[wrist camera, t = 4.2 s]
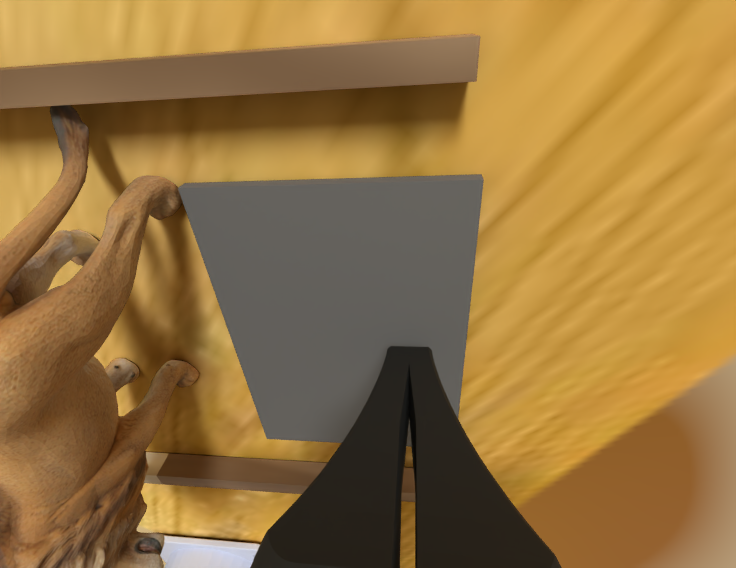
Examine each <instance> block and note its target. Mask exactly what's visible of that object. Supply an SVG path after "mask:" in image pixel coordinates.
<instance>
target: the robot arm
mask: <svg viewBox="0 0 736 568" xmlns="http://www.w3.org/2000/svg"><path fill="white" fill-rule="evenodd" d="M409 420H410V432H411V444H412V457H413V469H414V481H415V568H561V566H560V564H559V562H558V560H557V558H556V556H555V555H554V553H553V552H552V551H551V550H550V549H549V547H548V546H547V545H546V544H545V543H544V542H543V541H542V539H541V538H540V537H539V536H538V535H537V534H536V532H535V531H534V530H533V529H532V528H531V526H530V525H529V524H528V523H527V521H526V520H525V519H524V518H523V516H522V515H521V514H520V513H519V511H518V510H517V509H516V507H515V506H514V505H513V504H512V502H511V501H510V500H509V498H508V497H507V496H506V494H505V493H504V491H503V490H502V489H501V487H500V486H499V484H498V483H497V482H496V480H495V479H494V478H493V476H492V475H491V473H490V472H489V470H488V469H487V467H486V466H485V464H484V463H483V461H482V460H481V458H480V457H479V455H478V453H477V452H476V450H475V449H474V447H473V445H472V444H471V442H470V440H469V438H468V437H467V435H466V433H465V431H464V430H463V428H462V426H461V424H460V422H459V420H458V418H457V416H456V414H455V412H454V410H453V408H452V406H451V404H450V402H449V399H448V397H447V395H446V393H445V390H444V388H443V386H442V383H441V381H440V378H439V375H438V372H437V369H436V366H435V363H434V359H433V354H432V350H431V349H430V348H429V347H410V346H390V347H389V348H388V349H387V354H386V357H385V361H384V364H383V366H382V369H381V372H380V374H379V376H378V379H377V381H376V383H375V385H374V388H373V390H372V392H371V394H370V396H369V398H368V400H367V402H366V404H365V406H364V407H363V409H362V411H361V413H360V415H359V416H358V418H357V420H356V422H355V423H354V425H353V427H352V428H351V430H350V431H349V433H348V435H347V436H346V438H345V439H344V441H343V442H342V444H341V445H340V447H339V448H338V449H337V451H336V452H335V454H334V455H333V456H332V458H331V459H330V460H329V462H328V463H327V464H326V466H325V467H324V468H323V470H322V471H321V472H320V473H319V475H318V476H317V477H316V478H315V479H314V481H313V482H312V483H311V484H310V485H309V487H308V488H307V489H306V490H305V491H304V492H303V494H302V495H301V496H300V497H299V498H298V499H297V501H296V502H295V503H294V504H293V505H292V506H291V507H290V508H289V509H288V510H287V511H286V512H285V513H284V514H283V515H282V516H281V517H280V518H279V519H278V520H277V521H276V523H275V524H274V525H273V526H272V527H271V528H270V529H269V530H268V531H267V533H266V534H265V536H264V538H263V540H262V542H261V544H256V543H245V542H233V541H222V540H210V539H199V538H188V537H176V536H165V535H164V537H165V540H164V546H163V549H162V552H161V555H160V556H161V558H162V559H163V560H164V561H165V563H166V565H165V568H400V534H401V496H402V483H403V473H404V464H405V455H406V445H407V436H408V427H409Z"/></svg>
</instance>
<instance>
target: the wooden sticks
mask: <svg viewBox="0 0 736 568" xmlns="http://www.w3.org/2000/svg"><path fill="white" fill-rule="evenodd" d="M479 45H480V36H478V35H475V34H464V35H450V36H436V37H422V38H409V39H395V40H381V41H367V42H353V43H339V44H325V45H311V46H298V47H284V48H270V49H256V50H242V51H228V52H214V53H200V54H186V55H173V56H159V57H145V58H131V59H117V60H103V61H89V62H75V63H62V64H48V65H34V66H20V67H6V68H0V109H7V108H24V107H41V106H59V105H76V104H93V103H111V102H128V101H146V100H163V99H180V98H198V97H215V96H232V95H250V94H267V93H284V92H302V91H319V90H336V89H354V88H371V87H389V86H406V85H423V84H441V83H458V82H475V81H477V69H478V57H479ZM146 458H147V463H148V466H149V468H148V471H147V473H146V476H145V481H144V483H152V484H166V485H180V486H195V487H209V488H223V489H237V490H251V491H265V492H280V493H294V494H303V492H304V491H305V490H306V489H307V488H308V487H309V485H310V484H311V483H312V482H313V481H314V479H315V478H316V477H317V476H318V475H319V473H320V472H321V471H322V470H323V468H324V467H325V466H326V464H327V463H320V462H304V461H287V460H271V459H254V458H237V457H221V456H204V455H188V454H171V453H154V452H146ZM401 501H407V502H415V481H414V469H413V468H404V473H403V483H402V496H401Z"/></svg>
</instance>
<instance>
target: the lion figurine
mask: <svg viewBox="0 0 736 568" xmlns="http://www.w3.org/2000/svg"><path fill="white" fill-rule="evenodd" d="M50 113H51V117H52V122H53V125H54V129H55V131H56V134H57V136H58V143H59V147H60V149H61V152H62V156H63V163H64V164H63V170H62V172H61V175H60V177H59V180H58V182H57V183H56V184H55V185H54V187H53V188H52V189H51V190H50V192H49V193H48V194H47V195H46V196H45V197H44V198H43V199H42V200H41V201H40V203H39V204H38V205H37V206H36V207H35V208H34V209H33V210H32V211H31V212H30V213H29V214H28V216H27V217H26V218H24V219H23V220H22V221H21V222H20V223H19V224H17V225H16V226H15V227H14V228H13V230H12V231H11V232H10V233H9V234H8V235H7V236H6V237H5V238H4V239H2V240H1V241H0V568H163V567H164V565H163V561H162V558H161V556H160V555H161V552H162V549H163V546H164V540H165V537H164V535H163V534H162V533H140V532H137V531H136V529H137V527H138V525H139V523H140V521H141V519H142V517H143V516H144V514H145V512H146V509H147V504H146V503H145V502H144V500H143V497H142V494H141V490H142V487H143V484H144V481H145V476H146V473H147V471H148V468H149V466H148V463H147V458H146V451H145V450H146V449H147V447H148V446H149V444H150V443H151V441H152V439H153V437H154V436H155V434H156V432H157V430H158V428H159V426H160V424H161V422H162V420H163V418H164V415H165V412H166V409H167V405H168V402H169V399H170V397H171V395H172V393H173V390H174V388H175V386H176V385H178V386H179V387H185V386H190V385H192V384H193V383H194V382H195V380H196V379H197V378H198V377H199V372H198V371H197V370H196V369H195V368H194V367H193V366H192V365H190V364H189V363H187V362H185V361H178V360H170V361H168V362H166V363H165V364H164V365H163V366H162V367H161V368H160V369H159V371H158V372H157V373H156V375H155V377H154V378H153V380H152V382H151V385H150V388H149V391H148V392H147V394H146V395H145V397H144V398H143V400H142V401H141V403H140V404H139V405H138V406H137V407H136V408H135V409H133V410H132V411H130V412H129V413H127V414H126V415H125V416H121V417H120V416H118V404H117V398H116V392H117V391H118V390H119V389H120V388H121V387H123V386H124V385H126V384H127V383H132V382H134V381H135V380H136V379H137V378H138V376H139V369H138V367H137V366H136V365H135V364H134V363H132V362H130V361H129V360H127V359H124V358H118V359H115V360H112V361H111V362H110V364H109V365H108V366H107V367H106V368H105V369H104V367H103V365H102V364H101V363H100V362H99V361H98V359H96V358H95V357H94V354H95V353H96V352H97V351H98V350H99V349H100V347H101V346H102V344H103V343H104V341H105V340H106V338H107V337H108V335H109V334H110V332H111V330H112V328H113V326H114V324H115V322H116V321H117V319H118V317H119V315H120V314H121V312H122V310H123V308H124V305H125V303H126V301H127V299H128V297H129V295H130V293H131V290H132V287H133V283H134V279H135V275H136V270H137V264H138V260H139V255H140V250H141V244H142V239H143V235H144V231H145V227H146V224H147V221H148V218H149V214H150V215H151V216H152V217H154V218H156V219H159V220H161V219H163V218H165V217H167V216H171V215H173V214H174V213H175V212H176V211H177V210H178V209H179V208H180V206H181V204H182V199H181V196H180V193H179V190H178V188H177V187H176V185H175V184H174V183H172V182H170V181H169V180H167V179H165V178H162V177H158V176H142V177H138V178H136V179H135V180H134V181H133V182H132V183H131V184H130V185H129V186H128V187H127V188H126V189H125V190H124V191H123V193H122V194H121V195H120V196H119V197H118V198H117V200H116V201H115V202H114V203H113V204H112V206H111V207H110V209H109V210H108V213H107V218H106V226H105V229H104V232H103V236H102V238H101V239H100V241H98V240H97V239H96V238H94V237H93V236H92V235H91V234H89V233H87V232H85V231H81V230H72V231H58V232H56V233H54V234H53V235H52V236H51V237H50V235H51V234H52V233H53V232H54V230H55V229H56V227H57V226H58V225H59V223H60V222H61V221H62V219H63V218H64V216H65V215H66V214H67V212H68V210H69V209H70V207H71V206H72V204H73V203H74V201H75V199H76V198H77V196H78V194H79V192H80V190H81V188H82V186H83V184H84V182H85V179H86V173H87V168H88V165H87V161H88V154H89V129H88V127H87V126H86V125H85V124H84V123H83V122H82V120H81V118H80V117H79V115H78V113H77V111H76V110H75V109H74V108H72V107H71V106H70V105H59V106H51V108H50ZM49 237H50V238H49ZM42 246H43V247H42ZM41 247H42V248H41ZM40 248H41V249H40ZM39 249H40V250H39ZM38 250H39V252H37V251H38ZM36 252H37V253H36ZM35 253H36V254H35ZM70 260H71V261H73V262H74V263H76V264H78V265H83V267H82V268H81V269H80V271H79V272H78V273H77V274H76V275H75V276H74V277H73V278H72V279H71V280H70V281H69V282H67V283H66V284H64V285H62V286H58V287H55V288H53V289H51V290H49V291H47V290H48V289H49V287H50V285H51V282H52V280H53V278H54V276H55V275H56V273H57V272H58V271H59V269H60V268H61V267H62V266H63V265H64V264H66V263H67V262H68V261H70Z"/></svg>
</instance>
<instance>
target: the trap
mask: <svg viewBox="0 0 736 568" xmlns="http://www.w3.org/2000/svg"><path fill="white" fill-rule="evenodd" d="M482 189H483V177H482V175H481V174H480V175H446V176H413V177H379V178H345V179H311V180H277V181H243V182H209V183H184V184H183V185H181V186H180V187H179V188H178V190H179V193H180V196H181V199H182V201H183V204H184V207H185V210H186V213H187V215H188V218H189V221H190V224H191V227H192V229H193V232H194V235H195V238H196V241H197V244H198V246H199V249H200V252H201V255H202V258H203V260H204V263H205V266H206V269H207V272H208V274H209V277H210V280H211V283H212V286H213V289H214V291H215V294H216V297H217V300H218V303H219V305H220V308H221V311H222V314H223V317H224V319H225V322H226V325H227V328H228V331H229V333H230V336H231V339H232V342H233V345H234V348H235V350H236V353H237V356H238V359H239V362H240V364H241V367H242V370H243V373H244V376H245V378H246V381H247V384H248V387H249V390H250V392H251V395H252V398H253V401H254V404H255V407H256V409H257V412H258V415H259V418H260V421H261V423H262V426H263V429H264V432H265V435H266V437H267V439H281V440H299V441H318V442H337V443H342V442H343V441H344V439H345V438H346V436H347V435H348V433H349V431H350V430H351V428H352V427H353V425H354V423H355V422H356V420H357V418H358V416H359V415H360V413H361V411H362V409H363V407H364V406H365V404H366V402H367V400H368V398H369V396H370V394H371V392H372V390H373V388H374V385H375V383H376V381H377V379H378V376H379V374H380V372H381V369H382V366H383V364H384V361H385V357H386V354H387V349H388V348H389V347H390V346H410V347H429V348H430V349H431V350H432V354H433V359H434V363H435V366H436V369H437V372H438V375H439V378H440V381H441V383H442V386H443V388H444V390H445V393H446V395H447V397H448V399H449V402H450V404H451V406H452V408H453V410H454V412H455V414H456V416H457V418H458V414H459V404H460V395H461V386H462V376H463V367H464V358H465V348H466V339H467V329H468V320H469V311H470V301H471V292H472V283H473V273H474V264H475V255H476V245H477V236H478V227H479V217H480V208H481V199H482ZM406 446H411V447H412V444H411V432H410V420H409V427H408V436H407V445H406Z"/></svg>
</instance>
